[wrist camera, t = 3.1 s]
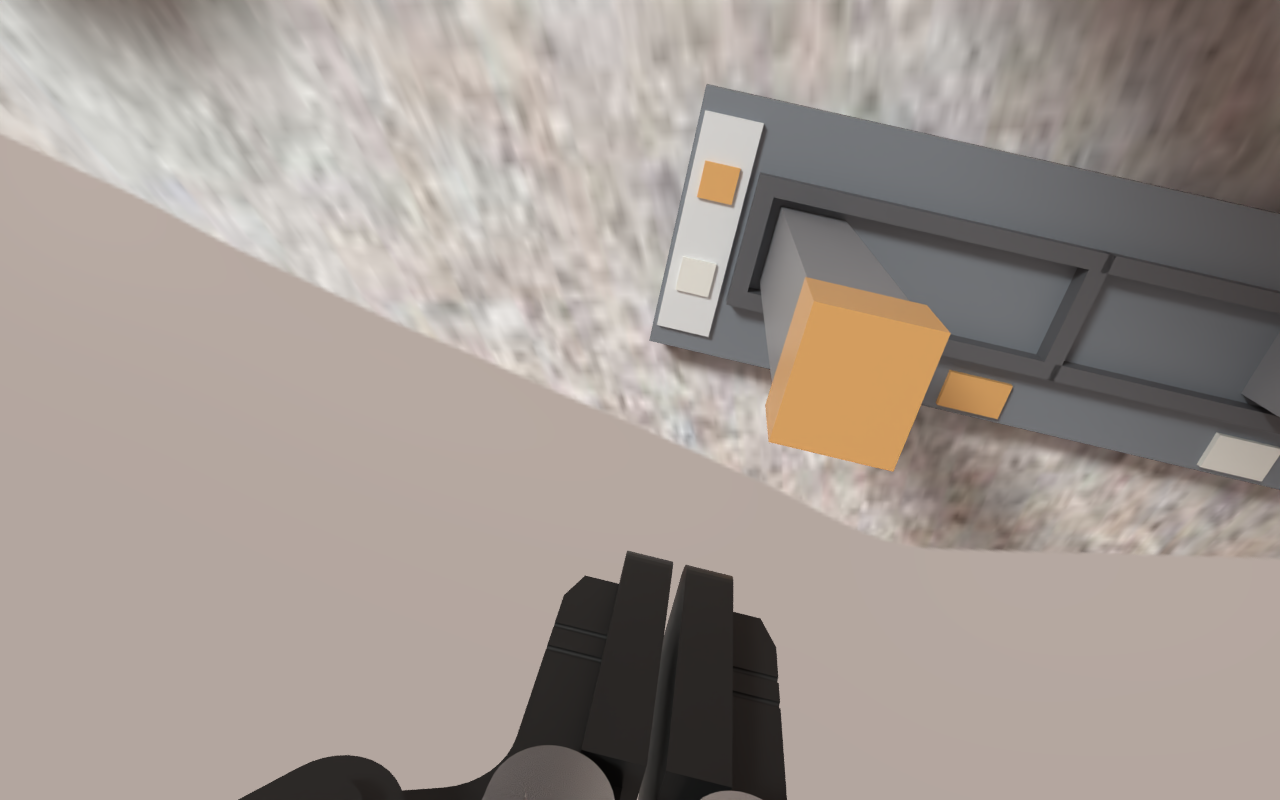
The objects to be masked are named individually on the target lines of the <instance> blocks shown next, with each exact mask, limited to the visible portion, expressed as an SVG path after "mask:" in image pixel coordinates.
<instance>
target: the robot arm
mask: <svg viewBox="0 0 1280 800" xmlns="http://www.w3.org/2000/svg"><path fill="white" fill-rule="evenodd" d="M672 569H673V562H671V561H668V560H663V559H659V558H655V557H651V556H647V555H643V554H639V553H635V552H631V551H627V554H626V558H625V562H624V566H623V570H622V574H621V578H620V583H619V584H617V583H613V582H609V581H605V580H601V579H597V578H592V577H588V576H584V577H583V578H582V579H581V580H580V581H579V582H578V583H577V584H576V585H575V586H574V587H573V588H571V589H570V590H569V591H568V592H567V593H566V594H565V595H564V597H563V600H562V603H561V606H560V609H559V612H558V615H557V618H556V621H555V625H554V627H553V630H552V633H551V636H550V640H549V642H548V645H547V649H546V651H545V654H544V657H543V660H542V663H541V666H540V669H539V672H538V675H537V678H536V681H535V684H534V687H533V690H532V693H531V696H530V699H529V702H528V705H527V708H526V711H525V714H524V717H523V720H522V723H521V726H520V729H519V732H518V735H517V737H516V740H515V742H514V744H513V747H512V748H511V750H510V751H509V753H508V754H507V756H506V757H505V758H504V759H503V760H502V761H501V762H500V763H499V764H498V765H497V766H496V767H495V768H493V769H492V770H491V771H490V772H488V773H486V774H485V775H483V776H481V777H480V778H477V779H475V780H473V781H470V782H468V783H464V784H461V785H458V786H452V787H445V788H432V789H418V790H405V791H402V790H401V787H400V786H399V784H398V782H397V780H396V779H395V777H393V775H392V774H391V773H390V771H388V770H387V769H385V768H384V767H383V766H382V765H380V764H378V763H376V762H374V761H372V760H369V759H366V758H363V757H358V756H350V755H348V756H347V755H345V756H332V757H326V758H322V759H319V760H315V761H312V762H310V763H308V764H306V765H303V766H301V767H299V768H297V769H295V770H293V771H291V772H289V773H288V774H286V775H284V776H282V777H280V778H278V779H276V780H274V781H273V782H271V783H269V784H267V785H265V786H263V787H262V788H259V789H258V790H256V791H254V792H252V793H250V794H248V795H246V796H244V797H242V798H241V799H239V800H637V797H638V794H639V797H638V800H787V796H786V781H785V767H784V753H783V739H782V724H781V712H780V711H781V710H780V708H779V703H780V696H779V683H777V679H778V668H777V654H776V646H775V645H774V643H773V641H772V639H771V637H770V635H769V633H768V632H767V630H766V628H765V626H764V624H763V622H762V621H761V619H760V618H756V617H752V616H748V615H744V614H740V613H736V612H733V577H732V576H729V575H725V574H721V573H717V572H713V571H709V570H705V569H701V568H696V567H693V566H689V565H685V567H684V570H683V572H682V575H681V579H680V582H679V586H678V589H677V593H676V596H675V600H674V603H673V607H672V610H671V614H670V617H669V620H668V624H667V627H666V631H665V635H664V630H665V622H666V615H667V607H668V600H669V592H670V584H671V577H672Z"/></svg>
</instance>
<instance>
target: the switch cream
mask: <svg viewBox="0 0 1280 800" xmlns="http://www.w3.org/2000/svg"><path fill="white" fill-rule="evenodd" d="M1241 394H1243V395H1244V396H1246V397H1248V398H1249V399H1251V400H1252V401H1254V402H1256V403H1257V404H1259V405H1260V406H1262V407H1264V408H1265V409H1267V410H1269V411H1270V412H1272V413H1273V414H1275V415H1277V416H1278V417H1280V332H1279V333H1278V335H1277V337H1276V338H1275V340H1274V341H1273V343H1272V345H1271V346H1270V348H1269V349H1268V351H1267V353H1266V354H1265V356H1264V357H1263V359H1262V361H1261V362H1260V364H1259V365H1258V367H1257V369H1256V370H1255V372H1254V373H1253V375H1252V377H1251V378H1250V380H1249V381H1248V383H1247V385H1246V386H1245V388H1244V389H1243V391H1242V392H1241Z"/></svg>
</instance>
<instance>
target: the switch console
mask: <svg viewBox="0 0 1280 800" xmlns="http://www.w3.org/2000/svg"><path fill="white" fill-rule="evenodd" d="M781 206H786V207H790V208H794V209H799V210H803V211H807V212H812V213H816V214H820V215H825V216H829V217H833V218H838V219H842V220H846V221H847V223H848V224H849V225H850V226H851V228H852V229H853V230H854V231H855V233H856V234H857V235H858V236H859V238H860V239H861V240H862V242H863V243H864V244H865V245H866V247H867V248H868V249H869V250H870V252H871V253H872V254H873V255H874V257H875V258H876V259H877V260H878V262H879V263H880V264H881V266H882V267H883V268H884V269H885V271H886V272H887V273H888V274H889V276H890V277H891V278H892V279H893V281H894V282H895V283H896V284H897V286H898V287H899V288H900V290H901V291H902V292H903V293H904V295H905V296H906V297H907V298H908V300H909V301H911V302H916V303H920V304H924V305H927V306H928V307H929V308H930V309H931V311H932V312H933V313H934V314H935V315H936V317H937V318H938V319H939V320H940V321H941V322H942V324H943V325H944V326H945V327H946V328H947V329H948V331H949V332H950V333H951V334H950V336H949V339H948V341H947V343H946V346H945V348H944V351H943V353H942V355H941V358H940V360H939V363H938V365H937V367H936V370H935V372H934V375H933V377H932V380H931V382H930V384H929V387H928V389H927V392H926V394H925V396H924V399H923V401H922V404H921V405H924V406H928V407H932V408H936V409H941V410H945V411H949V412H953V413H958V414H962V415H966V416H970V417H974V418H979V419H983V420H987V421H991V422H996V423H1000V424H1004V425H1008V426H1013V427H1017V428H1021V429H1025V430H1029V431H1034V432H1038V433H1042V434H1046V435H1051V436H1055V437H1059V438H1063V439H1067V440H1072V441H1076V442H1080V443H1084V444H1089V445H1093V446H1097V447H1101V448H1106V449H1110V450H1114V451H1118V452H1122V453H1127V454H1131V455H1135V456H1139V457H1144V458H1148V459H1152V460H1156V461H1161V462H1165V463H1169V464H1173V465H1177V466H1182V467H1186V468H1190V469H1194V470H1199V471H1203V472H1207V473H1211V474H1215V475H1220V476H1224V477H1228V478H1232V479H1237V480H1241V481H1245V482H1249V483H1254V484H1258V485H1262V486H1266V487H1270V488H1275V489H1279V490H1280V417H1278V416H1277V415H1275V414H1273V413H1272V412H1270V411H1269V410H1267V409H1265V408H1264V407H1262V406H1260V405H1259V404H1257V403H1256V402H1254V401H1252V400H1251V399H1249V398H1248V397H1246V396H1244V395H1243V394H1241V392H1242V391H1243V389H1244V388H1245V386H1246V385H1247V383H1248V381H1249V380H1250V378H1251V377H1252V375H1253V373H1254V372H1255V370H1256V369H1257V367H1258V365H1259V364H1260V362H1261V361H1262V359H1263V357H1264V356H1265V354H1266V353H1267V351H1268V349H1269V348H1270V346H1271V345H1272V343H1273V341H1274V340H1275V338H1276V337H1277V335H1278V333H1279V332H1280V214H1279V213H1275V212H1271V211H1266V210H1262V209H1257V208H1253V207H1248V206H1244V205H1240V204H1235V203H1231V202H1226V201H1222V200H1217V199H1213V198H1209V197H1204V196H1200V195H1195V194H1191V193H1186V192H1182V191H1178V190H1173V189H1169V188H1164V187H1160V186H1156V185H1151V184H1147V183H1142V182H1138V181H1133V180H1129V179H1125V178H1120V177H1116V176H1111V175H1107V174H1102V173H1098V172H1094V171H1089V170H1085V169H1080V168H1076V167H1071V166H1067V165H1063V164H1058V163H1054V162H1049V161H1045V160H1041V159H1036V158H1032V157H1027V156H1023V155H1018V154H1014V153H1010V152H1005V151H1001V150H996V149H992V148H987V147H983V146H979V145H974V144H970V143H965V142H961V141H956V140H952V139H948V138H943V137H939V136H934V135H930V134H926V133H921V132H917V131H912V130H908V129H903V128H899V127H895V126H890V125H886V124H881V123H877V122H872V121H868V120H864V119H859V118H855V117H850V116H846V115H841V114H837V113H833V112H828V111H824V110H819V109H815V108H811V107H806V106H802V105H797V104H793V103H788V102H784V101H780V100H775V99H771V98H766V97H762V96H757V95H753V94H749V93H744V92H740V91H735V90H731V89H727V88H722V87H718V86H713V85H709V84H707V85H706V89H705V94H704V98H703V102H702V107H701V111H700V116H699V120H698V125H697V129H696V134H695V138H694V143H693V147H692V152H691V156H690V161H689V165H688V170H687V174H686V179H685V183H684V188H683V192H682V197H681V201H680V206H679V210H678V215H677V219H676V223H675V228H674V232H673V237H672V241H671V246H670V250H669V255H668V259H667V264H666V268H665V273H664V277H663V282H662V286H661V291H660V295H659V300H658V304H657V309H656V313H655V318H654V322H653V327H652V331H651V336H650V340H649V341H653V342H657V343H662V344H666V345H670V346H674V347H679V348H683V349H687V350H691V351H695V352H700V353H704V354H708V355H712V356H717V357H721V358H725V359H729V360H734V361H738V362H742V363H746V364H750V365H755V366H759V367H763V368H767V369H770V365H769V356H768V348H767V339H766V331H765V323H764V314H763V306H762V297H761V289H760V278H761V274H762V271H763V267H764V264H765V260H766V257H767V253H768V250H769V246H770V243H771V239H772V235H773V232H774V228H775V225H776V221H777V218H778V214H779V211H780V207H781Z"/></svg>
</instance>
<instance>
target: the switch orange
mask: <svg viewBox="0 0 1280 800" xmlns="http://www.w3.org/2000/svg"><path fill="white" fill-rule="evenodd" d="M760 289H761V297H762V306H763V314H764V323H765V331H766V339H767V348H768V356H769V365H770V373H771V382H772V385H771V388H770V392H769V395H768V398H767V401H766V405H765V407H766V418H767V428H768V439H769V442H771V443H776V444H780V445H784V446H788V447H792V448H796V449H801V450H805V451H809V452H813V453H817V454H821V455H826V456H830V457H834V458H838V459H842V460H847V461H851V462H855V463H859V464H863V465H867V466H872V467H876V468H880V469H884V470H888V471H894V469H895V466H896V464H897V461H898V459H899V457H900V454H901V452H902V449H903V447H904V445H905V442H906V440H907V437H908V435H909V432H910V430H911V428H912V425H913V423H914V420H915V418H916V416H917V413H918V411H919V408H920V406H921V404H922V401H923V399H924V396H925V394H926V392H927V389H928V387H929V384H930V382H931V380H932V377H933V375H934V372H935V370H936V367H937V365H938V363H939V360H940V358H941V355H942V353H943V351H944V348H945V346H946V343H947V341H948V339H949V336H950V334H951V333H950V332H949V331H948V329H947V328H946V327H945V326H944V325H943V324H942V322H941V321H940V320H939V319H938V318H937V317H936V315H935V314H934V313H933V312H932V311H931V309H930V308H929V307H928V306H927V305H924V304H920V303H916V302H911V301H909V300H908V298H907V297H906V296H905V295H904V293H903V292H902V291H901V290H900V288H899V287H898V286H897V284H896V283H895V282H894V281H893V279H892V278H891V277H890V276H889V274H888V273H887V272H886V271H885V269H884V268H883V267H882V266H881V264H880V263H879V262H878V260H877V259H876V258H875V257H874V255H873V254H872V253H871V252H870V250H869V249H868V248H867V247H866V245H865V244H864V243H863V242H862V240H861V239H860V238H859V236H858V235H857V234H856V233H855V231H854V230H853V229H852V228H851V226H850V225H849V224H848V223H847V221H846V220H842V219H838V218H833V217H829V216H825V215H820V214H816V213H812V212H807V211H803V210H799V209H794V208H790V207H786V206H781V207H780V211H779V214H778V218H777V221H776V225H775V228H774V232H773V235H772V239H771V243H770V246H769V250H768V253H767V257H766V260H765V264H764V267H763V271H762V274H761V278H760Z"/></svg>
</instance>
